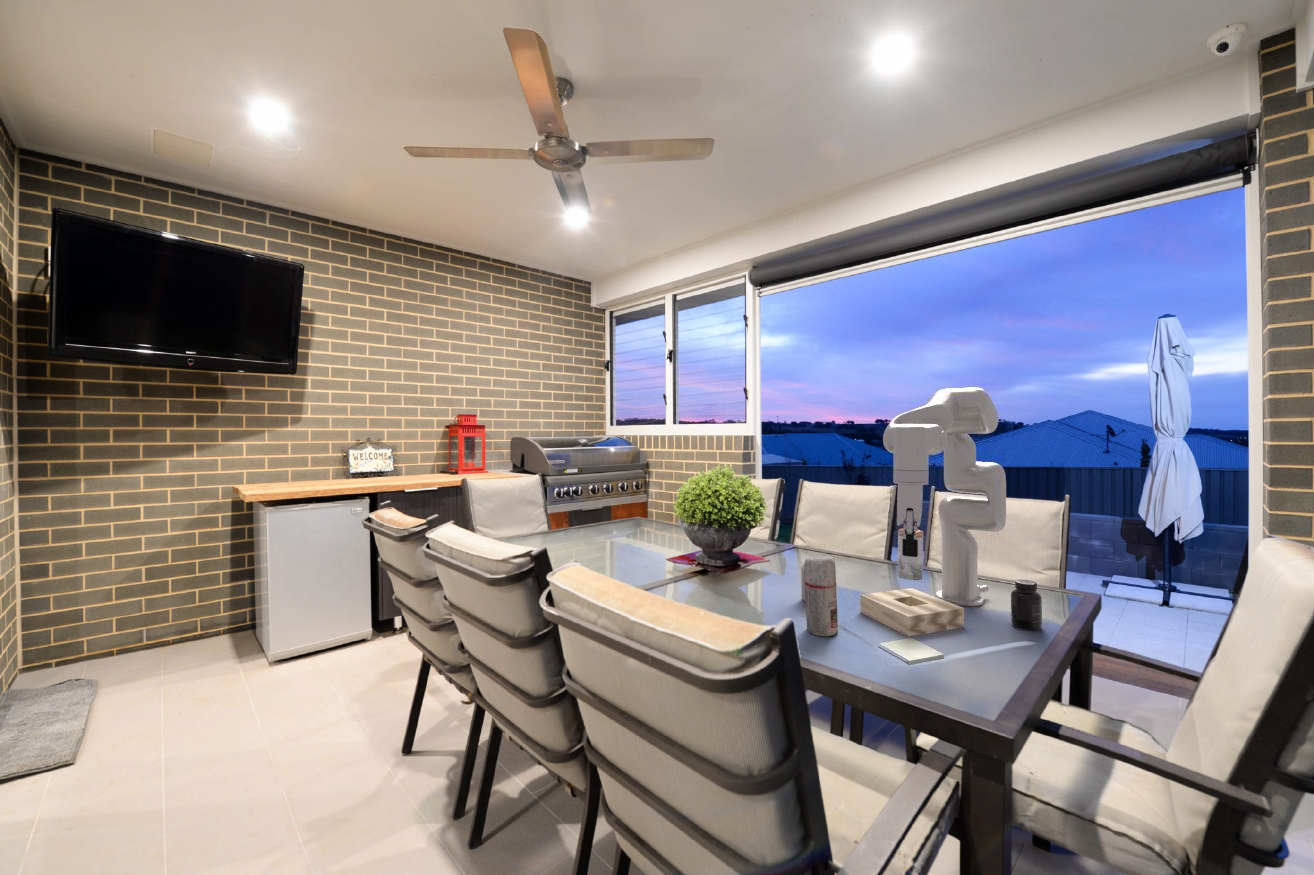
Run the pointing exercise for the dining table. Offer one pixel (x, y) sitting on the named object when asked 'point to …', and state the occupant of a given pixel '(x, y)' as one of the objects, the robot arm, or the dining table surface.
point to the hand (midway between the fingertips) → (910, 552)
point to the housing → (912, 611)
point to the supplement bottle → (1026, 606)
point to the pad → (912, 651)
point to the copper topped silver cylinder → (910, 559)
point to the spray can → (821, 596)
